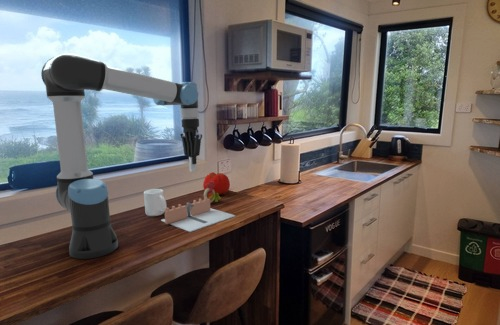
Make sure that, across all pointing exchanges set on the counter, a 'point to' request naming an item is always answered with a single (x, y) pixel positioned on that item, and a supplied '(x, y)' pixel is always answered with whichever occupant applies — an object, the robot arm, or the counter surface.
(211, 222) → the card
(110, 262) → the counter surface
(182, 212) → the fence fixed
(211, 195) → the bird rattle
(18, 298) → the counter surface
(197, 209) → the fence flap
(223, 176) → the tomato
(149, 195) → the mug
